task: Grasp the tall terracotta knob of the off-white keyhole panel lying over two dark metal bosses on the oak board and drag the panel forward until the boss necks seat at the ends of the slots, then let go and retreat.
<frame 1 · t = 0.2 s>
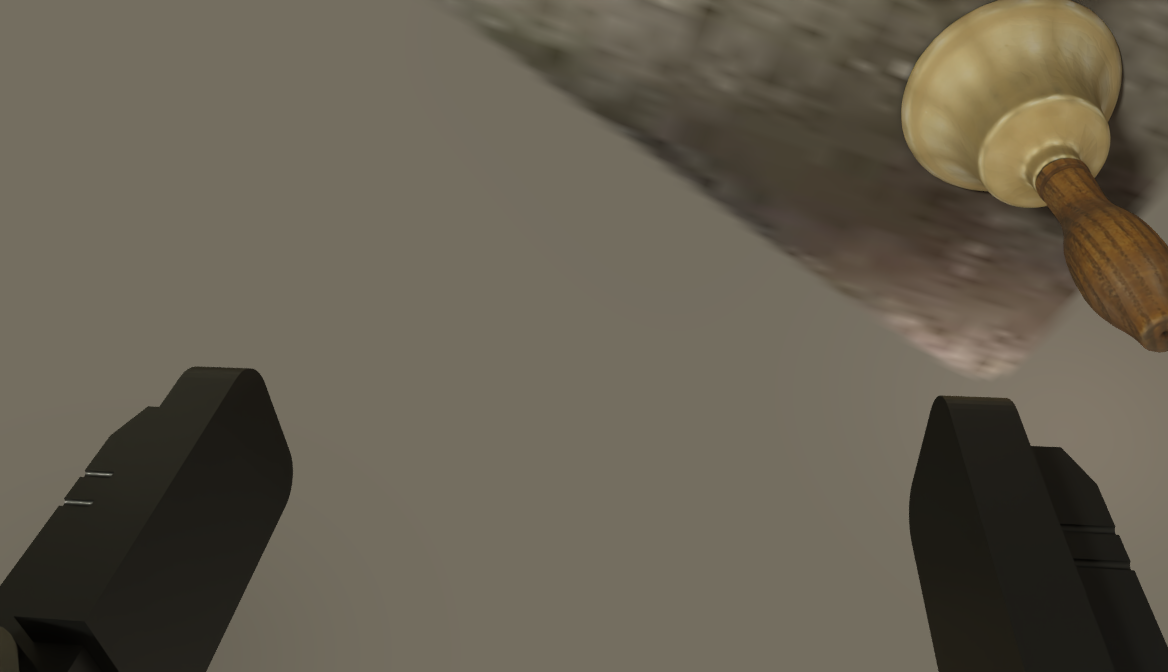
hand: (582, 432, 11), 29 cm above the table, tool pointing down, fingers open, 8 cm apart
hand bell: (1005, 95, 37), on the table
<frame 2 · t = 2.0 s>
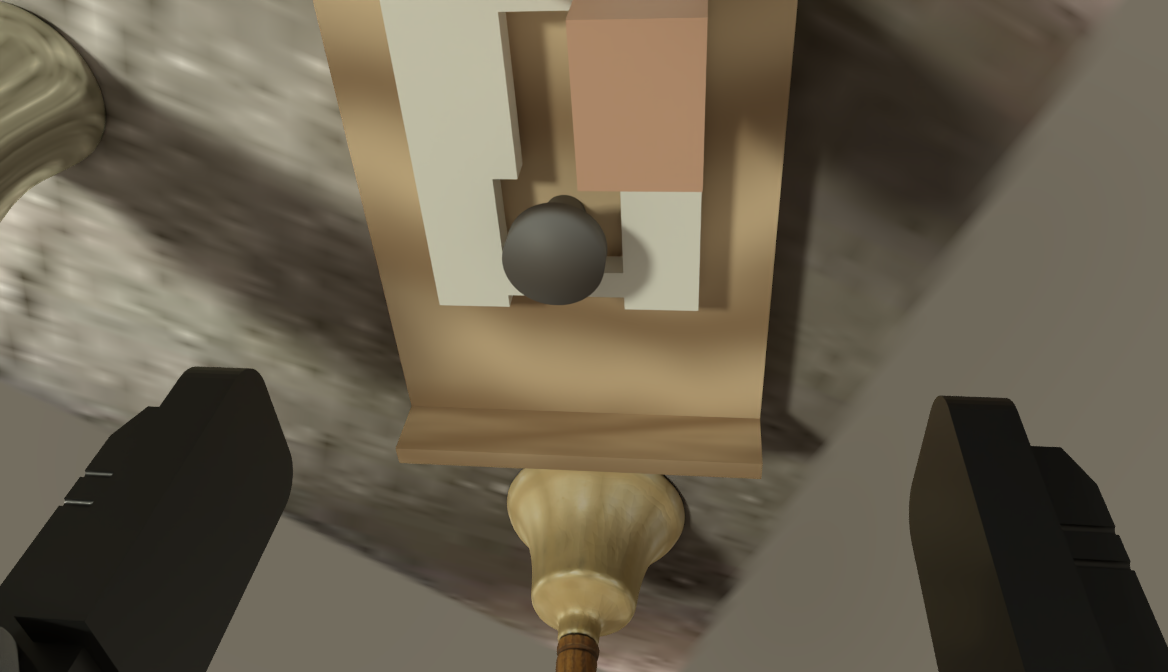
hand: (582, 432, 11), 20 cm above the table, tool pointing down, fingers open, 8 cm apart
beer glass: (22, 83, 31), on the table
boss board: (562, 80, 29), on the table
panel: (518, 49, 22), point 6 cm above the table, slide at 0.0 cm
hand bell: (595, 506, 42), on the table
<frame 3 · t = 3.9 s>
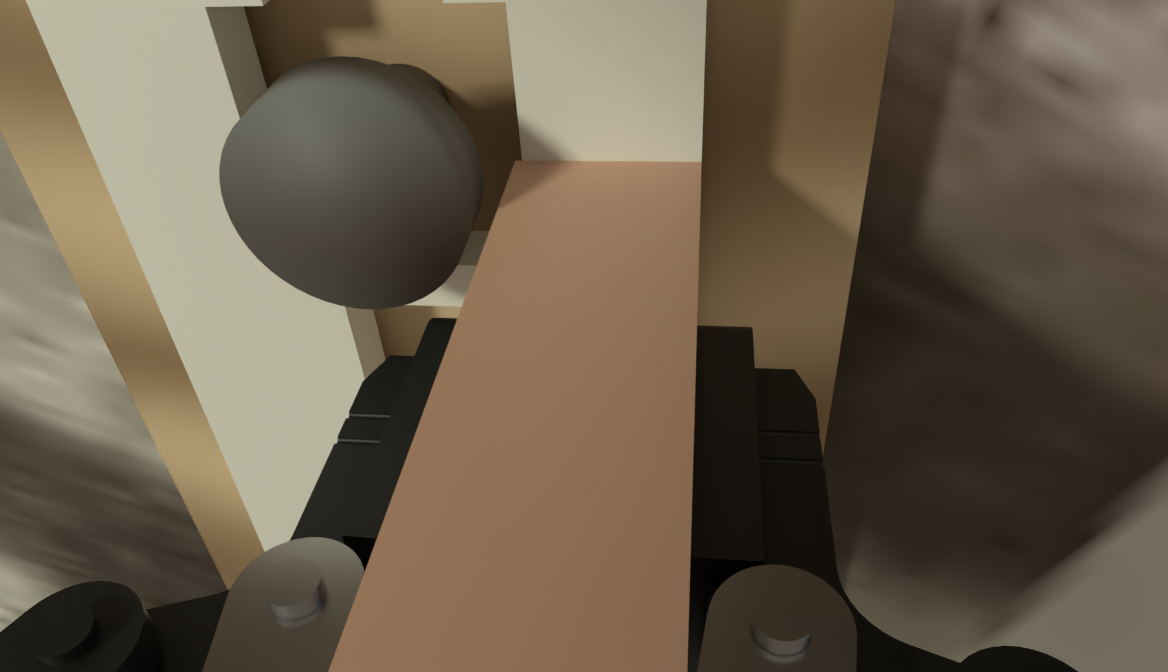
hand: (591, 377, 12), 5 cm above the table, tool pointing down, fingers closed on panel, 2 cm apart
boss board: (476, 348, 19), on the table
panel: (341, 448, 12), point 6 cm above the table, slide at 0.0 cm, touching gripper
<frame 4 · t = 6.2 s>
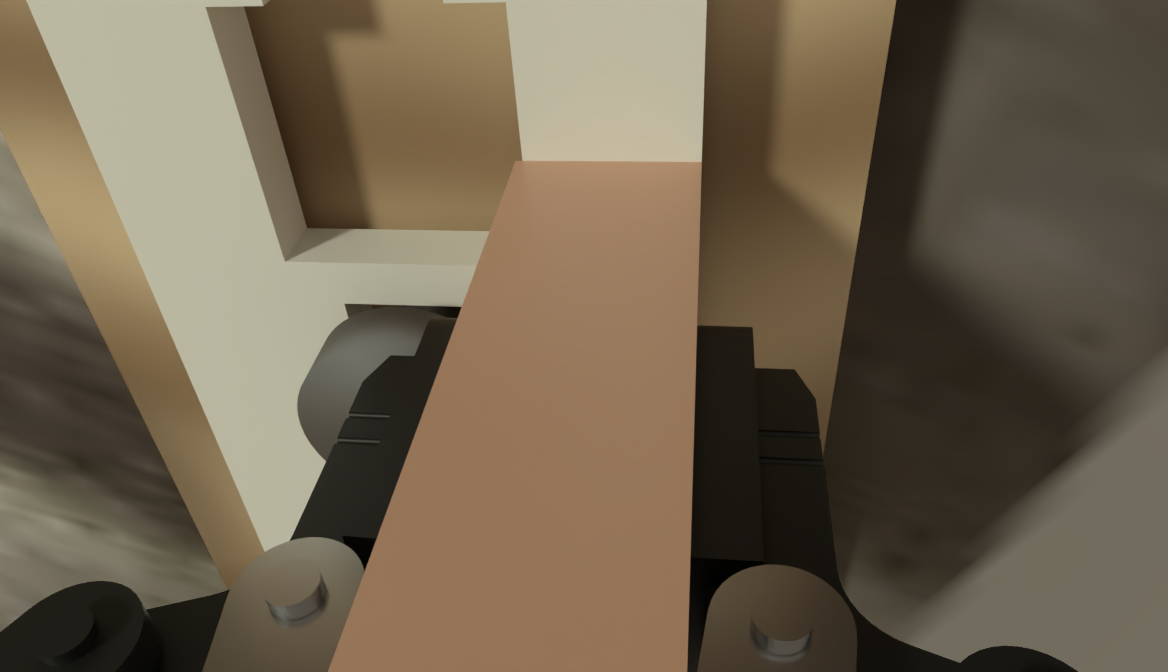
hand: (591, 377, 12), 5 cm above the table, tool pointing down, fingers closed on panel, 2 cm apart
boss board: (430, 63, 15), on the table
panel: (341, 448, 12), point 6 cm above the table, slide at 6.1 cm, touching gripper
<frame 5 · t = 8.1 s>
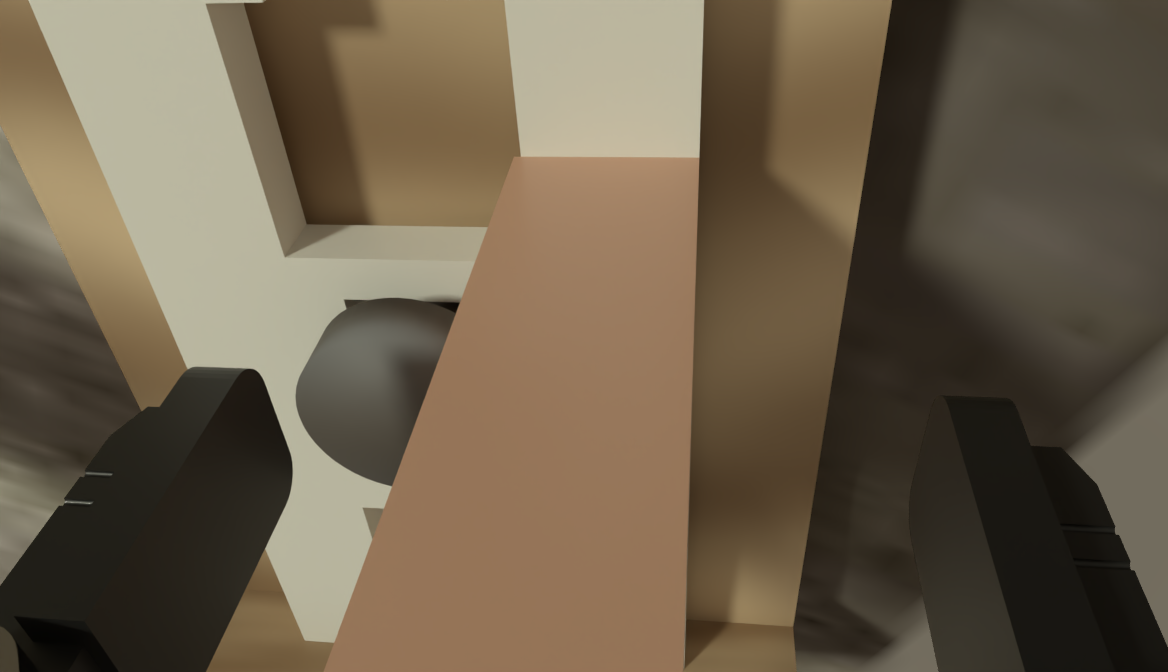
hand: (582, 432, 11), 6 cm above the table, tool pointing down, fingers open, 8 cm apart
boss board: (428, 55, 15), on the table
panel: (341, 442, 12), point 6 cm above the table, slide at 6.2 cm
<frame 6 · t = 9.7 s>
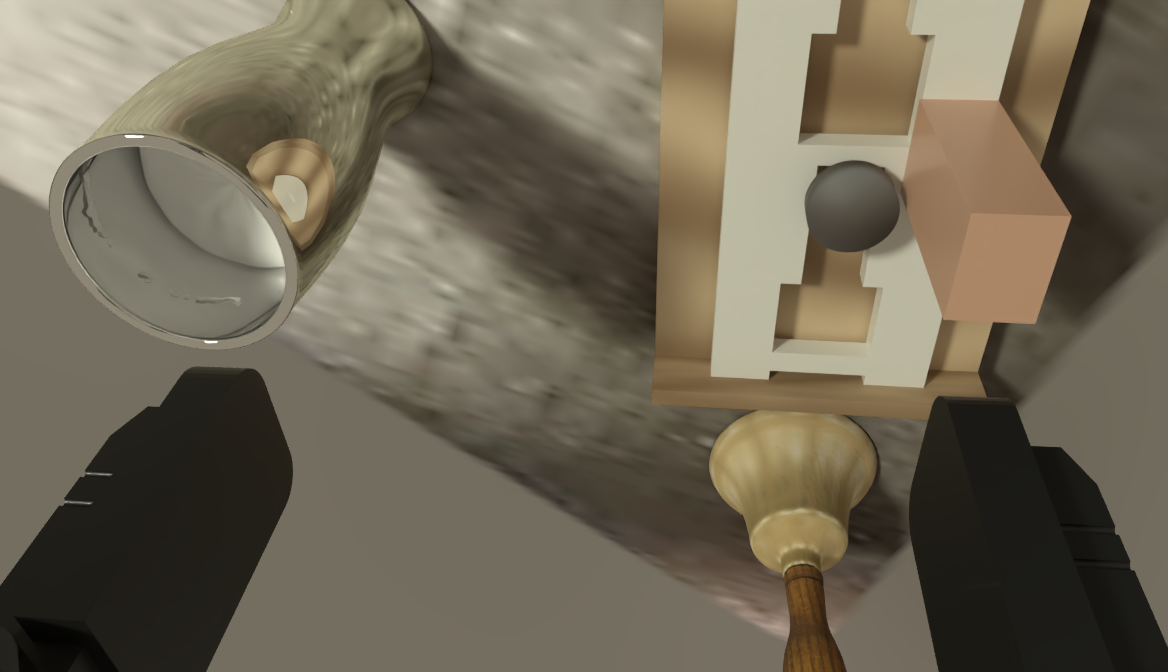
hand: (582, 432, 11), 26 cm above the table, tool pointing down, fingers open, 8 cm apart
beer glass: (358, 49, 35), on the table
boss board: (854, 58, 33), on the table
panel: (865, 205, 30), point 6 cm above the table, slide at 6.2 cm
hand bell: (791, 461, 46), on the table
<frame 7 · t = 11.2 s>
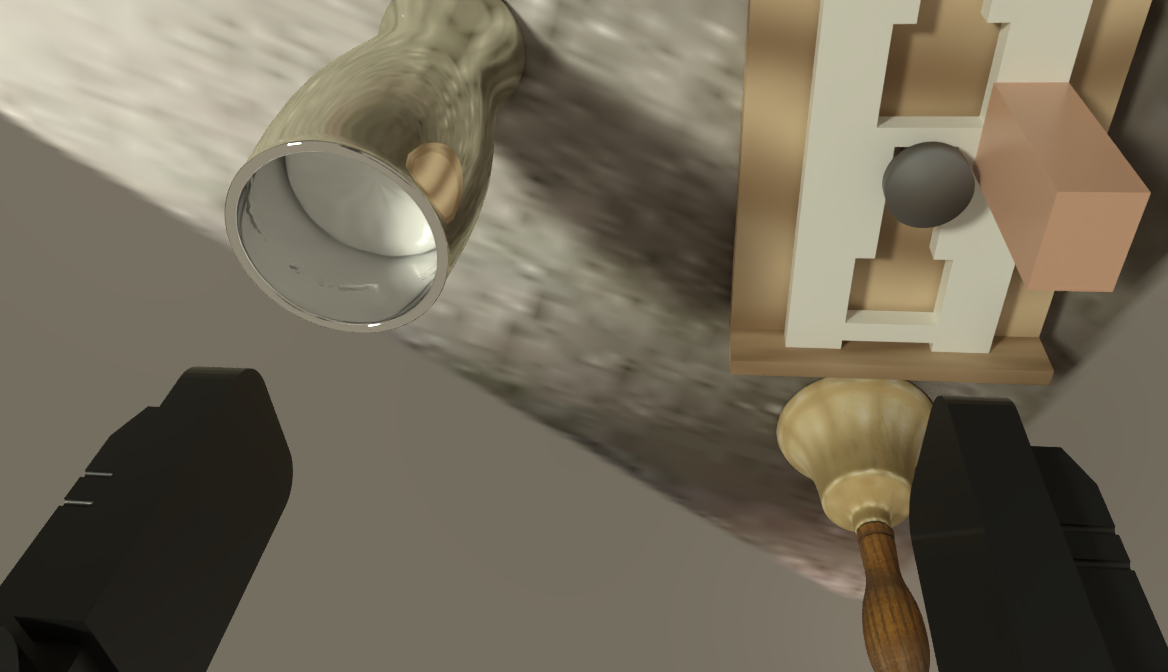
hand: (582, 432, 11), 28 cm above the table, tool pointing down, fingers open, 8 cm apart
beer glass: (454, 46, 38), on the table
boss board: (927, 44, 35), on the table
panel: (946, 184, 32), point 6 cm above the table, slide at 6.2 cm
hand bell: (854, 425, 48), on the table
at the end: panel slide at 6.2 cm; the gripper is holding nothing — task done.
